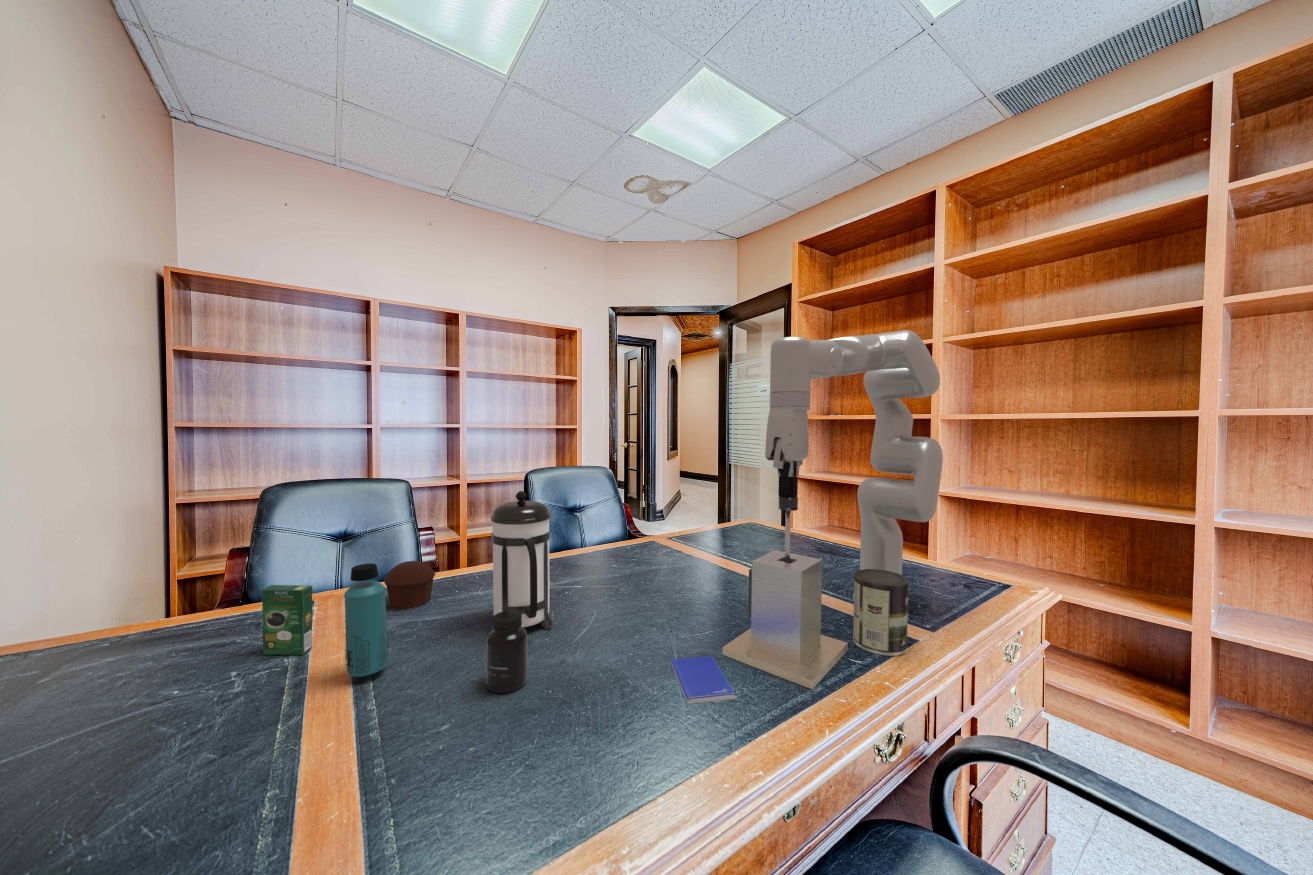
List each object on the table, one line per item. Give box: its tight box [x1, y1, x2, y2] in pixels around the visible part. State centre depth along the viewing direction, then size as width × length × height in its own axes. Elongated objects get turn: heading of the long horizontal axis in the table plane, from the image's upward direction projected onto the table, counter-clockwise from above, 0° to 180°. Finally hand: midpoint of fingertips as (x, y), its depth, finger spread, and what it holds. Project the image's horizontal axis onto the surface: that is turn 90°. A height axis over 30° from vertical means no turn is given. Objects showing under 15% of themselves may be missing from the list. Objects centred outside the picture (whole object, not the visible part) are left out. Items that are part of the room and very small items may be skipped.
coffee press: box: [490, 490, 554, 631], centre depth 103 cm, size 17×16×30 cm
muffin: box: [383, 560, 436, 610], centre depth 117 cm, size 12×11×10 cm
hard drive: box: [670, 655, 737, 705], centre depth 83 cm, size 2×8×12 cm
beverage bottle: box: [343, 563, 389, 678], centre depth 83 cm, size 6×7×20 cm
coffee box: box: [261, 584, 313, 656], centre depth 92 cm, size 8×3×13 cm, turn 92°
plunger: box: [778, 495, 799, 563], centre depth 92 cm, size 7×7×16 cm
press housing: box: [722, 549, 849, 690], centre depth 92 cm, size 18×18×18 cm
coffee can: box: [852, 569, 910, 657], centre depth 96 cm, size 10×10×14 cm
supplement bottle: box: [485, 611, 528, 695], centre depth 81 cm, size 7×7×12 cm
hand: (787, 496), depth 91 cm, fingers closed
